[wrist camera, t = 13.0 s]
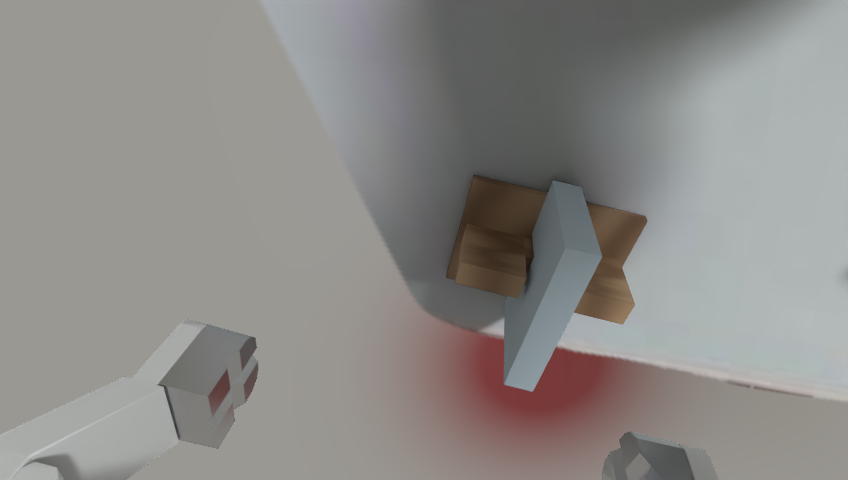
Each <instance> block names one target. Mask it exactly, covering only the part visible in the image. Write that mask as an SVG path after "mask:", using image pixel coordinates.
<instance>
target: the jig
mask: <svg viewBox="0 0 848 480" xmlns="http://www.w3.org/2000/svg"><path fill="white" fill-rule="evenodd" d="M547 194H548V193H547V192H542V191H538V190H534V189H530V188H526V187H522V186H517V185H513V184H509V183H505V182H501V181H497V180H492V179H488V178H484V177H480V176H476V175H474V177H473V180H472V184H471V188H470V191H469V195H468V198H467V202H466V206H465V209H464V213H463V217H462V220H461V224H460V228H459V231H458V235H457V238H456V242H455V246H454V249H453V253H452V257H451V260H450V264H449V268H448V271H447V276H446V278H450V279H454V280H455V283H456V284H461V285H465V286H469V287H473V288H477V289H481V290H485V291H489V292H493V293H497V294H501V295H505V296H509V297H513V298H517V299H518V298H519V295H520V293H521V290H522V288H523V286H524V283H525V281H526V275H527V272H528V270H529V268H530V265H531V263H532V260H533V258H534V252H533V239H532V232H533V230H534V227H535V225H536V222H537V220H538V217H539V214H540V212H541V209H542V207H543V204H544V202H545V199H546V196H547ZM586 204H587V207H588V211H589V214H590V217H591V221H592V224H593V227H594V231H595V234H596V237H597V241H598V244H599V247H600V251H601V254H602V259H601V260H600V262H599V264H598V266H597V268H596V270H595V272H594V274H593V276H592V278H591V280H590V282H589V284H588V286H587V288H586V289H585V291H584V293H583V295H582V297H581V299H580V301H579V303H578V305H577V307H576V309H575V311H574V313H578V314H582V315H586V316H590V317H594V318H598V319H602V320H607V321H611V322H615V323H619V324H623V323H624V322H625V320H626V319H627V317H628V315H629V314H630V312H631V311H632V309H633V307H634V306H635V304H634V301H633V298H632V295H631V292H630V289H629V286H628V284H627V281H626V278H625V275H624V272H623V269H622V266H623V264H624V262H625V261H626V259H627V257H628V255H629V253H630V252H631V250H632V248H633V246H634V245H635V243H636V241H637V239H638V237H639V236H640V234H641V232H642V230H643V228H644V227H645V225H646V223H647V219H646V217H645V216H643V215H638V214H634V213H630V212H626V211H622V210H618V209H613V208H609V207H605V206H601V205H597V204H593V203H588V202H586Z"/></svg>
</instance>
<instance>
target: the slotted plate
mask: <svg viewBox="0 0 848 480" xmlns="http://www.w3.org/2000/svg"><path fill="white" fill-rule="evenodd" d="M532 239H533V252H534V258H533V260H532V263H531V265H530V268H529V270H528V272H527V275H526V281H525V283H524V286H523V288H522V290H521V293H520V295H519V298H518V299H517V298H513V297H509V296H507V299H506V302H505V324H504V385H508V386H512V387H516V388H520V389H524V390H528V391H532V392H533V390H534V388H535V386H536V384H537V382H538V380H539V378H540V376H541V374H542V373H543V371H544V369H545V367H546V365H547V363H548V361H549V359H550V357H551V355H552V353H553V351H554V349H555V347H556V346H557V344H558V342H559V340H560V338H561V336H562V334H563V332H564V330H565V328H566V326H567V324H568V322H569V320H570V318H571V317H572V315H573V313H574V311H575V309H576V307H577V305H578V303H579V301H580V299H581V297H582V295H583V293H584V291H585V289H586V288H587V286H588V284H589V282H590V280H591V278H592V276H593V274H594V272H595V270H596V268H597V266H598V264H599V262H600V260H601V259H602V254H601V251H600V247H599V244H598V241H597V237H596V234H595V231H594V227H593V224H592V221H591V217H590V214H589V211H588V207H587V204H586V201H585V197H584V194H583V191H582V187H579V186H575V185H571V184H567V183H562V182H558V181H554V180H553V181H552V184H551V186H550V189H549V191H548V194H547V196H546V199H545V202H544V204H543V207H542V209H541V212H540V214H539V217H538V220H537V222H536V225H535V227H534V230H533V232H532Z"/></svg>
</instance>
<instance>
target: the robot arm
mask: <svg viewBox="0 0 848 480" xmlns="http://www.w3.org/2000/svg"><path fill="white" fill-rule="evenodd" d="M256 348H257V346H256V338H255V337H251V336H248V335H244V334H240V333H237V332H233V331H230V330H226V329H222V328H219V327H215V326H212V325H208V324H204V323H201V322H197V321H193V320H189V319H187V320H185V321H184V322H182V323H180V324H179V325H178V326H177V327H176V328H175V329H174V331H173V332H172V333H171V334H170V335H169V336H168V337H167V339H166V340H165V341H164V342H163V343H162V344H161V345H160V347H158V349H157V350H156V351H155V352H154V353H153V354H152V355H151V357H150V358H149V359H148V360H147V361H146V362H145V363H144V364H143V365H142V367H141V368H140V369H139V370H138V371H137V372H136V373H135V374H134V376H133V377H132V378H129V377H122V378H120V379H118V380H116V381H114V382H112V383H110V384H107V385H105V386H103V387H101V388H99V389H97V390H95V391H93V392H90V393H88V394H86V395H84V396H82V397H80V398H78V399H76V400H73V401H71V402H69V403H67V404H65V405H63V406H61V407H58V408H56V409H55V410H52V411H50V412H48V413H46V414H44V415H41V416H39V417H37V418H35V419H33V420H31V421H29V422H27V423H24V424H22V425H20V426H18V427H16V428H14V429H12V430H9V431H7V432H5V433H3V434H1V435H0V480H126V479H128V478H129V477H131V476H132V475H134V474H135V473H136V472H138V471H139V470H141V469H142V468H143V467H145V466H146V465H148V464H149V463H150V462H152V461H153V460H154V459H156V458H157V457H159V456H160V455H162V454H163V453H164V452H166V451H167V450H169V449H170V448H171V447H173V446H174V445H176V444H177V443H178V442H179V440H182V441H186V442H191V443H195V444H200V445H204V446H208V447H212V448H216V449H218V448H219V447H220V445H221V443H222V441H223V440H224V438H225V437H226V435H227V433H228V431H229V430H230V428H231V426H232V425H233V423H234V421H235V418H234V409H236V408H237V407H239V406H241V405H242V404H244V403H246V401H247V399H248V397H249V396H250V394H251V392H252V390H253V387H254V385H255V382H256V379H257V374H258V361H257V360H256V358H255V357H254V356H253V353H254V351H255V350H256ZM620 445H621V448H620V449H617V450H614V451H611V452H610V454H609V455H608V457H607V458H606V460H605V463H604V467H603V472H602V480H718V477H717V474H716V472H715V469H714V466H713V464H712V461H711V459H710V456H709V455H708V454H707V453H706V451H705V450H702V449H699V448H694V447H690V446H686V445H681V444H677V443H676V442H672V441H668V440H664V439H660V438H655V437H651V436H647V435H643V434H639V433H634V432H627V433H625V434H624V435H623V436H622V438H621V439H620Z"/></svg>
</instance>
